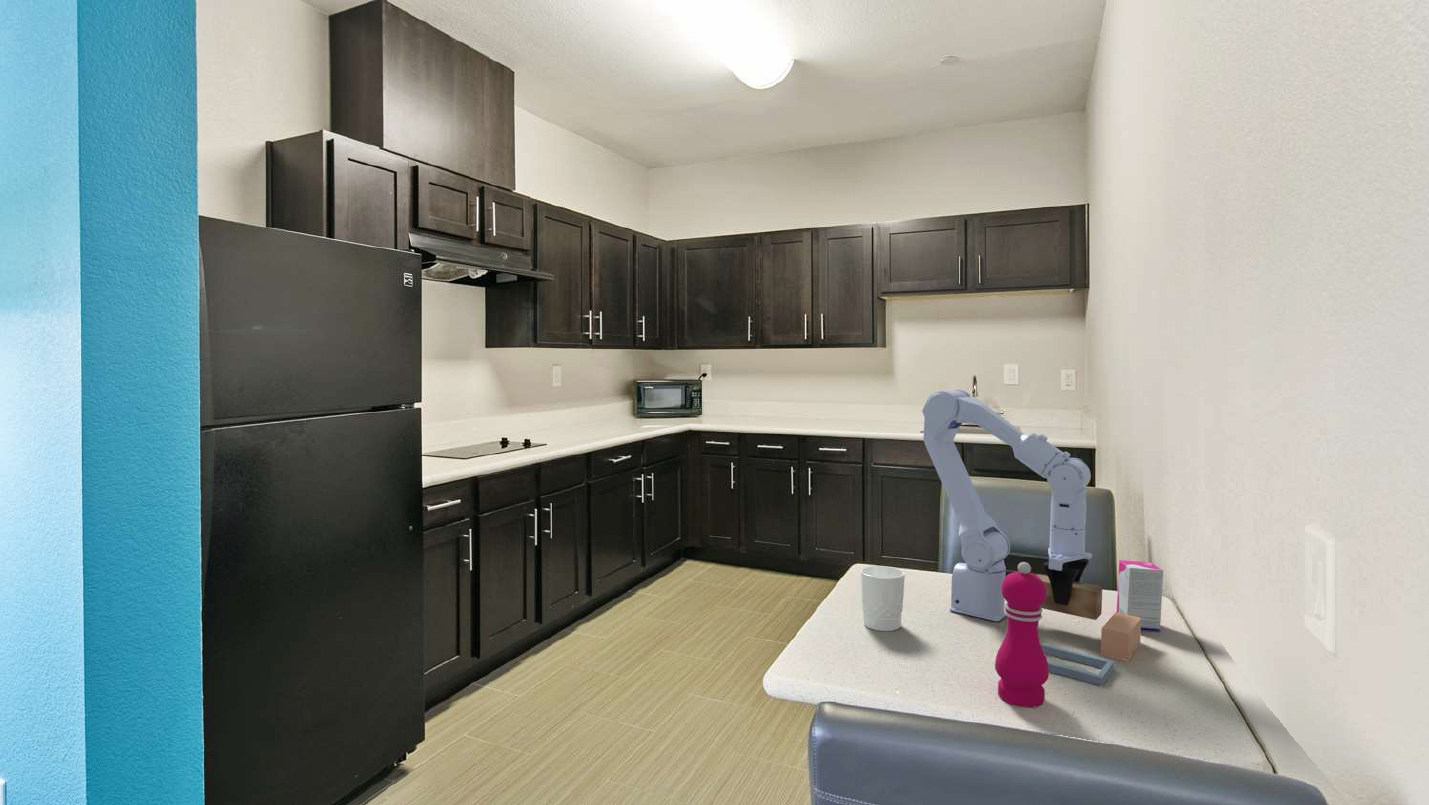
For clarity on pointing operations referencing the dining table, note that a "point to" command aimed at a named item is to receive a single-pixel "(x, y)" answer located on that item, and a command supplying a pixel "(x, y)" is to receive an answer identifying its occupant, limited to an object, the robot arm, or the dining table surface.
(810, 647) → the dining table surface
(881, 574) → the white cup
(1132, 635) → the pinkish tan block
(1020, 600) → the pepper mill
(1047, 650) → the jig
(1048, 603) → the wooden block on base
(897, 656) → the dining table surface
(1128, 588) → the supplement box
